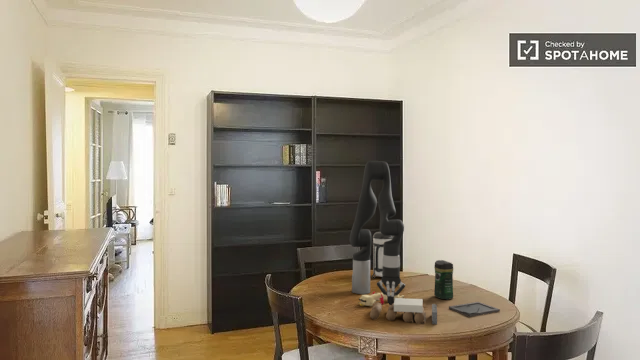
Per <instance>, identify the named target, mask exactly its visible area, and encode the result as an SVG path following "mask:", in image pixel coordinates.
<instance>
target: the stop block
mask: <svg viewBox="0 0 640 360" xmlns="http://www.w3.org/2000/svg"><path fill="white" fill-rule="evenodd" d="M431 325H438V306H437V303H436V304H435V303H432V304H431Z"/></svg>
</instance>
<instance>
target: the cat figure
mask: <svg viewBox="0 0 640 360" xmlns="http://www.w3.org/2000/svg"><path fill="white" fill-rule="evenodd" d="M396 288H397V289H399V288H400V284H399V285H398V286H397V287H396ZM376 292H377V291H376V290H375V291H373V292H371V293H370V294H361V296H360V297H359V298H358V301H360V302H358V303H357V304H359V306H369V307H373V305H374V304H375V303H377V302H379V303H380V304H381V305H382V306H383V305H384V303H385V301H384V300H386V301H387V295H384V294H383V293H382V292H377V293H376ZM390 295H391V294H390ZM395 298H405V295H403V294H401V295H400V293H399V294H398V295H397V296H394V301H395Z"/></svg>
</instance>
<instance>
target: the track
mask: <svg viewBox="0 0 640 360" xmlns="http://www.w3.org/2000/svg"><path fill="white" fill-rule="evenodd" d="M372 305H373V306H371V307H372V308H371V310H370V313H369V316H370V319H372V320H374V321H375V320H378V319H379V318H380V316H381V312H382V309H383V305H381V303H380V302H379V301H376V302H374V304H372ZM402 313H403V314H402V320H403V321H404V323H405V322H406V323H410V322H411V323H412V324H414V321H415V320H414V316H415V312H402ZM426 315H427V313H426V312H425V311H424V322H423V325H424V324H425V325H426V319H427V318H426ZM385 316H386V319H387V320H388V321H389V322H391V321H395V319H397V318H396V317H397V312H396V311H394V303H393V304H392V305H389V304H388V308H387V311H386V315H385Z"/></svg>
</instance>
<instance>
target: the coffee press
mask: <svg viewBox="0 0 640 360" xmlns="http://www.w3.org/2000/svg"><path fill="white" fill-rule="evenodd" d="M393 237H394V236H384V235H382V234H381V232H380V231H376V232H375V233H374V234H373V236H372V240H373V241H372V246H373V247H372V248H373V250H372V251H373V254H372V255H373V256H372V257H373V258H372V259H373V262H372V263H373V264H372V265H373V266H372V269H373V271H372V272H373V273H372V275H371V279H376V278H377V277H380V278H382V273H383V245H384V242H386V241H389V240H392V239H393ZM373 277H374V278H373Z"/></svg>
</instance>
